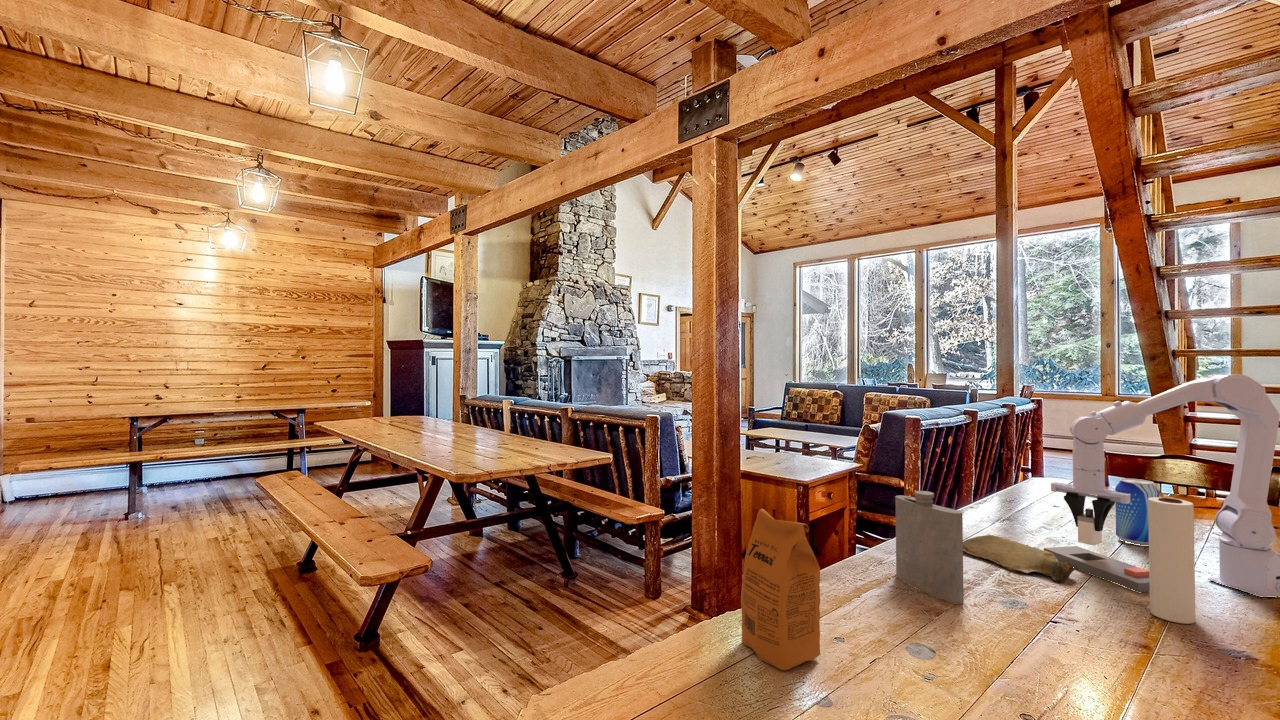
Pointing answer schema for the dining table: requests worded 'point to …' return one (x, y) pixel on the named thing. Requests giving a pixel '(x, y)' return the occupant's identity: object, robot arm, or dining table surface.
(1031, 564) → the stone tool
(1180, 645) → the dining table surface
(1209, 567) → the dining table surface
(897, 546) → the hip flask
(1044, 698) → the dining table surface
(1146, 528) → the beer can
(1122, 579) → the power strip
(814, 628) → the coffee package
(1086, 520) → the plug
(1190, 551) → the paper towel roll
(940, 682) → the dining table surface
